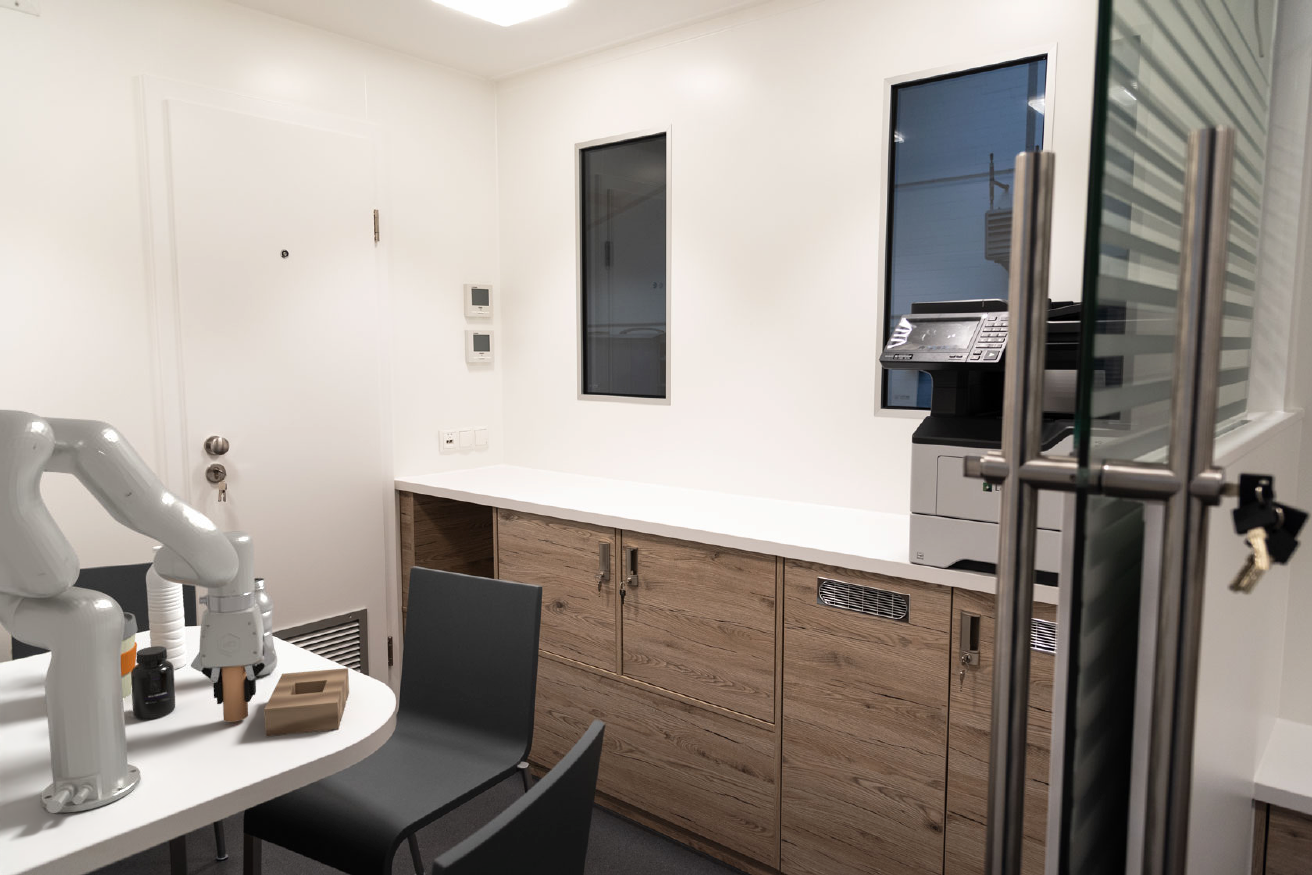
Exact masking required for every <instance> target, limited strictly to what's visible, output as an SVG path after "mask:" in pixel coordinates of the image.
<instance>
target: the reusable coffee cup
mask: <svg viewBox="0 0 1312 875" xmlns="http://www.w3.org/2000/svg"><path fill="white" fill-rule="evenodd" d="M123 614H124V622H125V623H124V633H123V639H122V646H121V681H122V692H123V698H124V699H126V698H127V697H129V696H130V695H131V694H132V685H131V671H132V670H133V668H134V667H135V666H136V665H137V662H136V659H137V652H138V651H137V650H138V649H137V648H138V647H137V646H138V644H137V642H136V633H138V625H137V620H136V616H135V614H134V613H130V612H125V611H123ZM129 694H130V695H129ZM126 696H127V697H126ZM125 697H126V698H125Z"/></svg>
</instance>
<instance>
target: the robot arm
mask: <svg viewBox="0 0 1312 875" xmlns="http://www.w3.org/2000/svg"><path fill="white" fill-rule="evenodd" d="M45 472H46V473H59V474H60V473H61V474H67V475H69V474H70V475H73V476H74V477H75V478H76V479H77V480H78V481H79V482H80V483H81V485H82V486H83V487H84V488H85V489H86V490H87V491H88V492H89V493H90V494H91V495H92V496H93V497H94V499H96V501H98V504H100V505H101V506H102V507H103V509H105V511H106V512H107V513H108V514H109V516H110V517H111V518H113V520H115V522H117V523H119V524H120V525H123V526H124V527H126V528H128V529H130V530H132V531H134V532H136V533H138V534H141V535H144V536H145V537H149V538H151V539H153V540H155V541H157V542H158V543H161V544H163V545H161V546H162V547H161V548H160V549H159V550H158V551H157V552H156V551H155V552H156V553H154V554H155V555H154V557H153V562H152V564H153V565H154V569H155V571H156V573H157V574H158V575H159V576H160V577H161V578H163V579H165V580H167V581H170V582H174V583H179V584H182V585H185V586H193V587H199V588H204V589H207V594H206V595H203V596H199V598H198V603H199V605H204V606H206V609H205V610H204V611H203V613H202V617H201V622H200V634H199V652H198V653H197V654H196V656H195V658H194V659H193V660H192V662H191V664H190V667H191V668H192V669H195V670H196V671H198V672H201V673H202V674H203V675H204V676H205V677H207V678H208V679H209V680H210V682H211V683H212V684H213V699H216V705H221V704H223V689H222V668H223V667H238V666H245V670H246V674H247V676H246V680H245V681H244V689H245V701H246V702H248V703H250V701H251V700H252V699H253V696H256V693H257V683H256V682H257V681H256V677H258V676H257V675H258V674H259V673H260V672H261V671H262V670H263V669H264V668H265V667H267V666H269V665H270V664H272V663H273V662H274V661H275V659H276V656H277V655H276V656H275V655H274V654H273V652H272V651H271V650H270V649H269V647H268V646H267V645H266V644H265V634H264V627H263V620H262V615H261V611H260V608H259V605H255V581H254V578H255V558H254V554H255V553H254V551H255V550H254V539H253V536H252V535H251V534H250V533H249V532H245V531H233V530H232V531H224V532H223V531H222V530H221V529H220V527H219V526H218V525H216V523H214V521H212V520H211V519H210V518H209V517H208V516H206V515H205V514H204V513H202V512H201V511H200V510H199V509H197V508H195V507H194V506H193V505H192V504H190V503H189V502H187V501H186V500H185V499H184V498H182V497H181V496H179V495H178V494H177V493H175V492H174V491H172V490H170V489H169V488H168V487H167V486H166V485H165V484H164V483H163V481H161V479H159V477H158V476H157V475H156V473H154V472H153V470H152V469H151V468H150V466H149V465H148V464H147V463H146V462H145V461H144V459H143V458H142V456H141V455H140V454H139V453H138V452H137V451H136V449H135V448H134V446H132V445H131V443H130V442H129V441H128V439H127V438H126V436H124V434H123V433H121V431H120V430H118V429H117V427H115V426H114V425H112V424H111V423H107V422H105V421H102V420H101V421H100V420H95V419H93V420H92V419H81V418H78V419H77V418H65V417H64V418H63V417H47V416H40V415H37V414H35V413H33V412H32V413H31V412H28V411H25V410H24V411H23V410H17V409H16V410H14V409H12V410H11V409H0V625H1V626H2V627H3V628H4V630H5V631H7V633H8V634H9V635H10V636H11V637H12V638H14V639H16V640H17V641H18V642H21V643H23V644H26V645H29V646H32V647H37V648H40V649H45V650H47V651H50V654H51V657H50V661H49V664H48V668H47V670H46V674H45V680H44V693H45V702H46V703H45V704H46V705H45V706H46V715H47V717H46V718H47V725H48V740H49V752H50V760H51V761H50V764H51V776H52V783H50V784H49V785H48V786H46V788H45V789H44V790H43V792H42V793H41V796H40V797H41V799H40V800H41V806H42V807H43V808H44V809H45V810H47V811H48V813H50V814H56V813H76V812H77V813H78V812H83V811H88V810H92V809H96V808H100V807H102V806H105V805H108V804H111V803H113V802H115V801H118V800H120V799H121V798H123V797H125V796H127V795H128V794H129V793H131V792H133V790H135V789H136V788H137V786H139V784H140V781H141V780H142V779H141V778H142V777H141V771H140V769H139V768H138V767H137V766H135V765H133V764H129V763H128V750H127V736H126V735H127V734H126V724H125V723H126V722H125V707H124V706H125V705H124V699H123V692H122V681H121V646H122V639H123V633H124V623H125V622H124V614H123V612H124V611H123V609H122V607H121V605H120V604H119V603H118V602H117V601H116V600H115V599H114V598H113V597H112V596H110V595H108V594H106V593H103V592H102V591H99V590H94V589H91V588H90V589H89V588H83V587H80V586H79V587H77V586H74V585H75V584H76V582H77V580H78V578H79V576H80V570H81V566H80V560H79V556H78V555H77V552H76V551H75V549H74V548H73V546H72V544H71V543H70V541H69V540H68V538H67V537H66V536H65V533H64V532H63V531H62V530H61V528H60V526H59V525H58V523H57V522H56V520H55V519H54V518H53V516H52V514H51V513H50V511H49V510H48V507H47V506H46V503H45V502H44V499H43V498H42V494H41V487H40V486H41V481H42V478H43V477H42V476H43V474H44V473H45ZM262 656H264V658H265V659H264V660H262V661H260V660H261V659H262ZM257 663H258V664H257ZM256 664H257V665H256Z"/></svg>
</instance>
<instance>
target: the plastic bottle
mask: <svg viewBox="0 0 1312 875" xmlns="http://www.w3.org/2000/svg"><path fill="white" fill-rule="evenodd" d="M254 581H255V605H259V608H260V611H261V615H262V620H263V627H264V634H265V644H266V645H267V646H268V647H269V649H270V650H271V651H272V652H273V654H274V655H275V656H276V659H275V661H274V662H273V663H272V664H270V665H269V666H267V667H265V668H264V669H263V670H262V671H261V672H260V673H259V674H258V675H257V676H256V677H262V676H265V675H269V674H270V673H272V672H274V671H275V669H276V667H277V664H278V657H277V653H276V649H275V644H274V639H273V637H274V636H273V615H274V600H273V598H272V597H271V596H270V594H269V593H267V592H266V590H265V589H266V587H267V586H266V579H265V578H263V577H254ZM264 659H265V658H264V656H262V659H261V660H260V661H262V660H264ZM257 664H258V663H257ZM257 664H256V665H257Z"/></svg>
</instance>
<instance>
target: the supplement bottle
mask: <svg viewBox="0 0 1312 875" xmlns="http://www.w3.org/2000/svg"><path fill="white" fill-rule="evenodd" d="M166 659H167V649H166V647H163V646H154V647H151V646H149V647H144V648H141V649H139V650H138V651H136V664H135V667H134V668H133V670H132V671H131V703H132V715H133V717H134V718H135V719H138V720H141V721H142V720H143V721H145V720H154V719H159V718H163V717H167V716H168V715H169V714H172V713H173V712H174V710H175V709H176V690H175V689H176V687H175V684H176V683H175V670H174V666H173V664H172V663H171V662H170V661H168V660H166Z"/></svg>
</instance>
